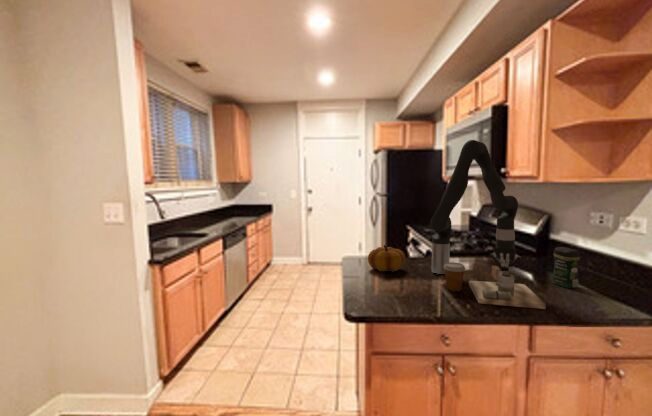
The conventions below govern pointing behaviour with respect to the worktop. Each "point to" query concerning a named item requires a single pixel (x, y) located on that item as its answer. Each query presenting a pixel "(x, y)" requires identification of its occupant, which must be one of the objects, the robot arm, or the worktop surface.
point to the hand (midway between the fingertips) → (504, 274)
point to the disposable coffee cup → (454, 275)
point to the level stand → (505, 295)
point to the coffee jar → (566, 267)
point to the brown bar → (503, 280)
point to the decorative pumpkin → (386, 259)
